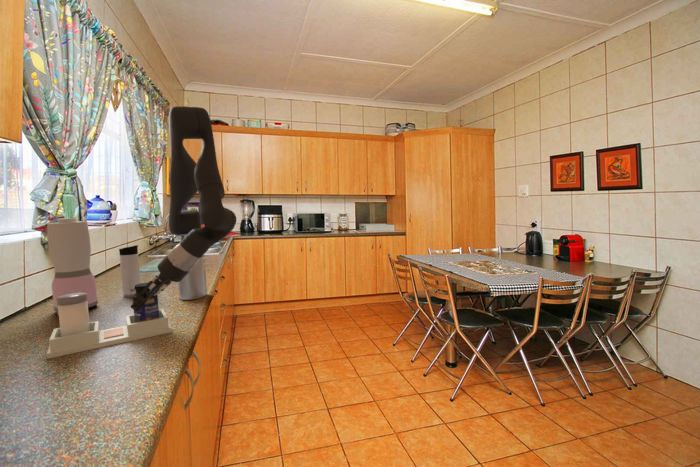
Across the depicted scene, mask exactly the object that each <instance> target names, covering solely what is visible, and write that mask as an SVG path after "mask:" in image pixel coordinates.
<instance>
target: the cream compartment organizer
mask: <svg viewBox="0 0 700 467" xmlns="http://www.w3.org/2000/svg"><path fill="white" fill-rule="evenodd" d="M56 300H57V305H58V313H59V315H58V318H59V319H58V320H59V327H56V328H53V330H52V333H51V335H50V337H49V340H48V341H49V346H48V349H47V352H46V355H45V356H46V359H51V358H52V359H53V358H58V357H62V356H66V355H72V354H75V353H81V352H85V351H89V350H94V349H99V348H104V347H109V346H113V345H119V344H123V343H127V342H132V341H136V340H141V339H147V338H152V337H156V336H160V335H164V334H165V335H166V334H169V333H170V334H171V333H172V332H173V328H172V326H171V324H170V322H169V317H168V315H167V314H166V312H165V310H164V309H163V308H162V309H159V318H158V319H153V320H148V321H142V322H137V323H135V318H134V314H130V315H129V314H128V315H126V316H125V320H126V325H122V326H117V327H112V328H107V329H101V330H100V321H99V320H97V321H96V320H95V321H91V322H90V316H89V314H90V313H89V307H88V303H87V300H88V299H87V293H72V294H66V295H62V296H59V297H57V298H56Z"/></svg>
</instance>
